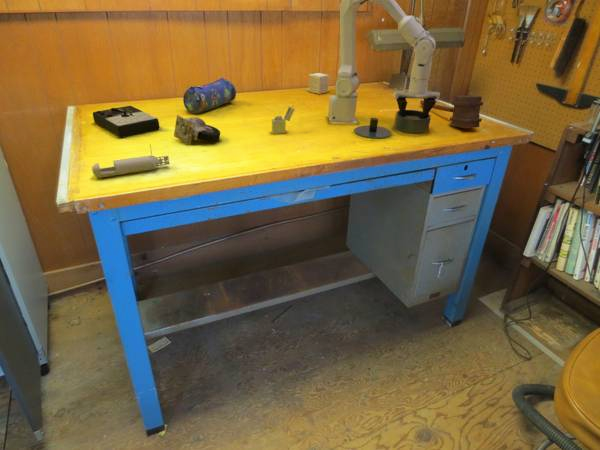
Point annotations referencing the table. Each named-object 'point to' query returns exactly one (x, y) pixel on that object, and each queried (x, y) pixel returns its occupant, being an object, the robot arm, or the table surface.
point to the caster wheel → (195, 130)
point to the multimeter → (126, 121)
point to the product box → (318, 83)
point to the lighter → (281, 122)
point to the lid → (373, 130)
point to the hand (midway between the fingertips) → (412, 120)
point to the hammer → (463, 111)
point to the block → (412, 117)
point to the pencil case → (209, 96)
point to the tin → (412, 123)
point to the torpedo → (130, 165)
